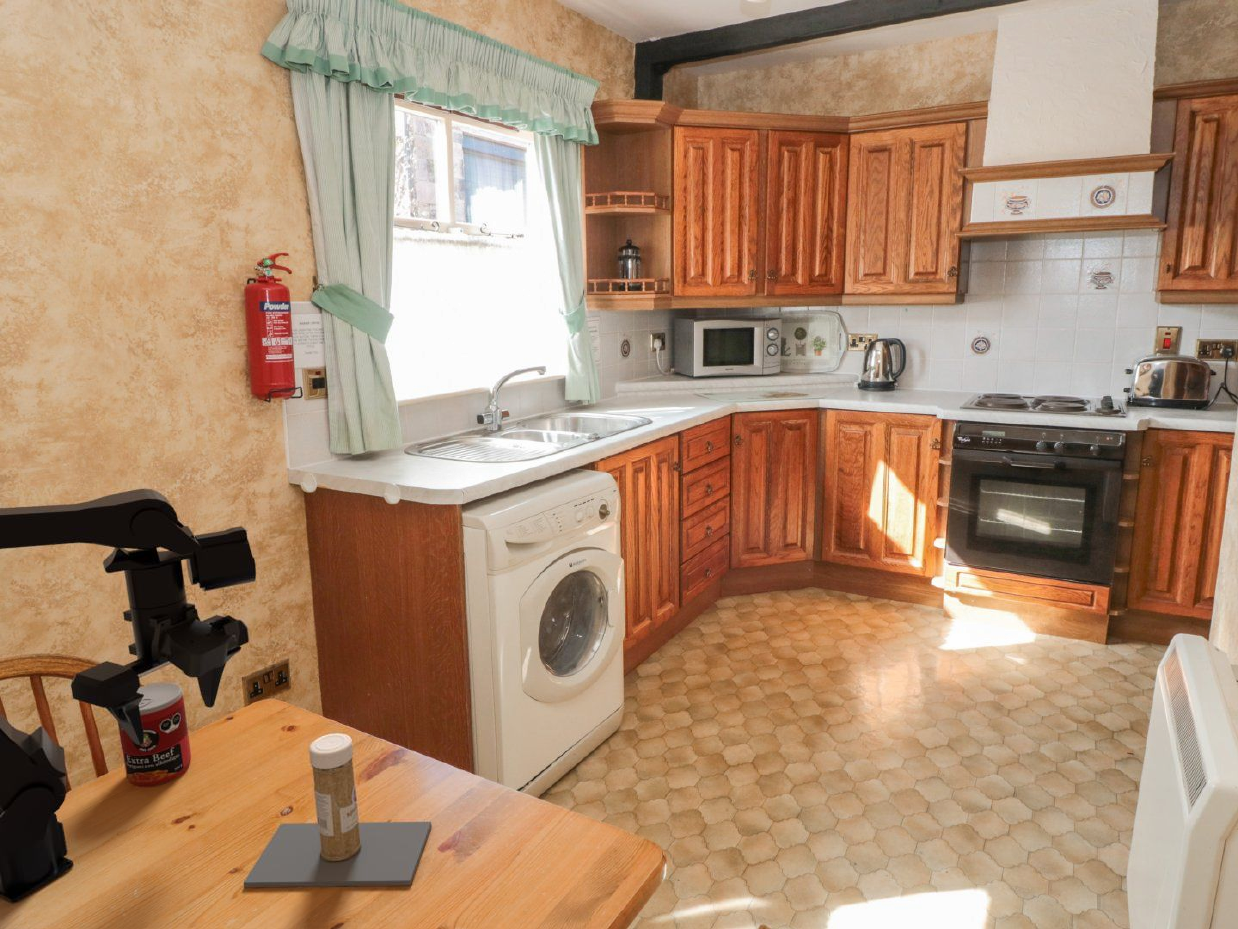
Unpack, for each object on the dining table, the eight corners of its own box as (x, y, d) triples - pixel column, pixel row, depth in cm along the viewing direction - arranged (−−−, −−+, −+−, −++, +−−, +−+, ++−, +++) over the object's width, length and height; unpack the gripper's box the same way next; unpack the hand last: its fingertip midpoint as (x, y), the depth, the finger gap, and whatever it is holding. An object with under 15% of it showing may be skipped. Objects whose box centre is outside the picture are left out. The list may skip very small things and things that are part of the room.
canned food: (119, 793, 107) (106, 715, 104) (137, 759, 114) (125, 686, 112) (184, 782, 108) (173, 706, 106) (197, 751, 116) (187, 678, 114)
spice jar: (365, 855, 93) (355, 746, 90) (322, 868, 91) (311, 758, 88) (357, 832, 97) (348, 727, 94) (316, 844, 95) (306, 738, 92)
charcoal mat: (244, 887, 89) (243, 882, 89) (281, 828, 99) (280, 823, 99) (410, 885, 89) (410, 880, 89) (431, 826, 99) (431, 821, 99)
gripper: (126, 643, 83) (147, 783, 86) (274, 582, 99) (287, 702, 102) (57, 626, 87) (80, 759, 91) (209, 571, 104) (224, 685, 107)
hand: (176, 724), depth 98 cm, fingers open, 9 cm apart
